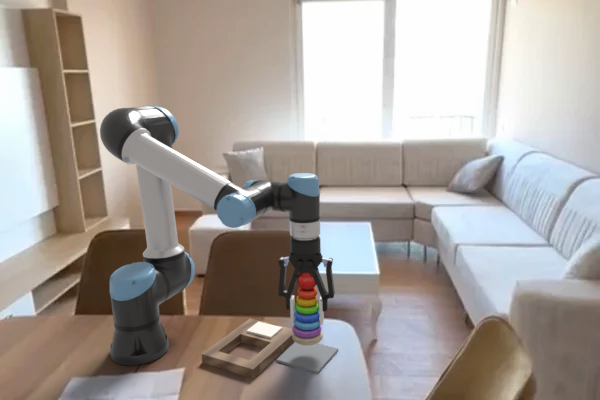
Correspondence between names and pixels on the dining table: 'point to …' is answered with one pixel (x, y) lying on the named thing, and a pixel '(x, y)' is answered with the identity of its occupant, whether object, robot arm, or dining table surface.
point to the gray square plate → (308, 356)
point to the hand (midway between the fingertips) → (307, 321)
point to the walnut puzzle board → (252, 334)
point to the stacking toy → (307, 312)
